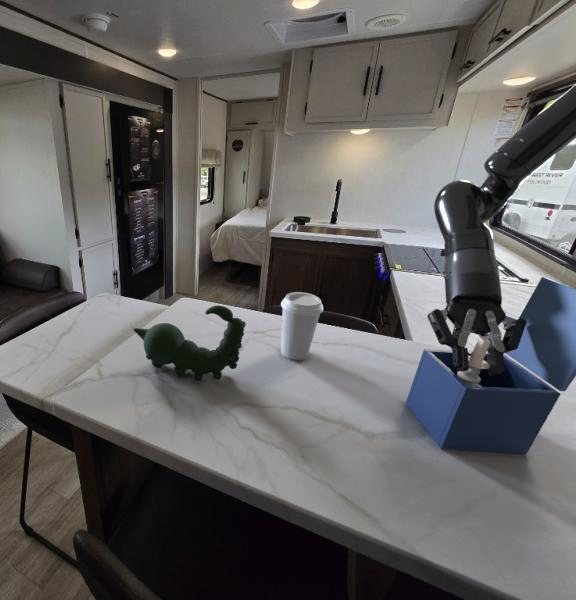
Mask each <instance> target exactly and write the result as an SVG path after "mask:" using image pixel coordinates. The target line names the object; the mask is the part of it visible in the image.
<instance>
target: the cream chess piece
mask: <svg viewBox="0 0 576 600" xmlns="http://www.w3.org/2000/svg"><path fill="white" fill-rule="evenodd" d="M489 344H490V341H489V340H488V339H486V337H485V338H483V337H479V336H478V339H477V342H476V344H475V346H474V348H473V350H472V351H473V352H472V354H471V356H468V361H469V369H468V370H467V371H464V372H461V371H458V372H457V377H459V378H460V379H461V380H462V381H463V382H464V383H465V384H466V385H467V386H475V387H482V386H481V385H479V384H478V383H480V381H481V378H480V377H479V376H478V375H479V374H480V370H481V369H488V368H490V365H489V364H488V363H487V362H486V361H484V357H485V355H486V352H487V350H488V347H489Z"/></svg>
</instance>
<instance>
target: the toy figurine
mask: <svg viewBox="0 0 576 600" xmlns="http://www.w3.org/2000/svg"><path fill="white" fill-rule="evenodd" d="M204 314H205V315H212V314H213V315H216V316H217V317H219V318H220V319H221V320H223V321H224V322H227V324H226V326H227V328H225V329H224V332H223V338H221V340H220V341H219V345H218V346H217V347H216V348H215V349H209V348H207V347H202V346H200V347H199V346H198V344H197V343H195V341H192V340H190V339H185V336H184V334H183V332H182V330H181V329H180V328H179V327H178V326H176V325H174V324H171V323H168V322H161V323H157V324H155V325H152V326H151V327H150V328H141V327H140V328H139V327H134V328H133V332H134V333H136V335H138V337H139V338H140V339H141V340H142V341H143V349H144V352H145V357H146V359H147V360H149V361H150V360H151V361H150V362H151V365H152V366H153V367H154V368H156V369H157V368H158V369H159V368H162V367H164V366H165V365H170V364H173V365H174V368H173V371H174V375H176V376H178V377H183V376H184V375H185V374H186V371H191V372H192V373H194V374H193V378H194V380H195V381H197V382H200V381H202V380H203V378H204V376H205V375H208V374H209V373H210V374H212V378H213V379H214V380H215V381H219V380H221V379H222V377H223V373H222V371H223V370H225V369H226V367H229V369H231V370H234V369H237V367H238V362H239V360H240V349H241V348H242V347H243V344H242V342H243V341H242V340H243V337H244V336H245V333H244V331H245V327H246V325H247V324H246V321H244V320H242V319H241V318H239V317H234V313H233V311H232V310H231V309H230V308H228V307H226V306H224V305H212V306H210V307H208V308H207V309H206V310H205V312H204Z"/></svg>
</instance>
